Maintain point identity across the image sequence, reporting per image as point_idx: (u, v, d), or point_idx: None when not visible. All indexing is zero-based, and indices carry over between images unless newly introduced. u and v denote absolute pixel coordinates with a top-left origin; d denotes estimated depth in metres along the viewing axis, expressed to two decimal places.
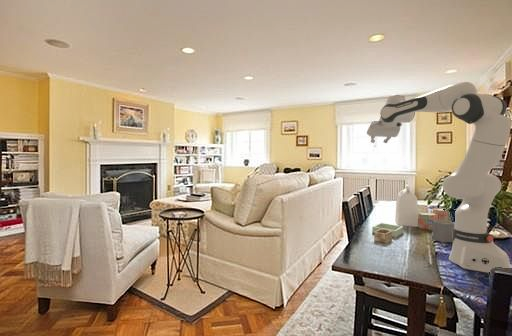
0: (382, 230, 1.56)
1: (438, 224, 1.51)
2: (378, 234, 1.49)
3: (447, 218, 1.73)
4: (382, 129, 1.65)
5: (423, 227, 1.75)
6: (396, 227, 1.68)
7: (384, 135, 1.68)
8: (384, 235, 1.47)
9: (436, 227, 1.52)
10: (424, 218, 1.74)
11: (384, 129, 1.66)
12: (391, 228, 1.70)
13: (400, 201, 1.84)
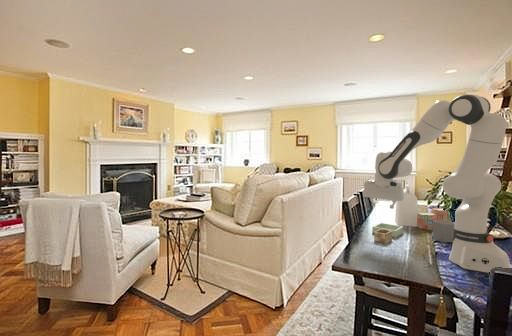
0: (382, 230, 1.56)
1: (438, 224, 1.51)
2: (378, 234, 1.49)
3: (446, 218, 1.73)
4: (377, 189, 1.52)
5: (423, 227, 1.75)
6: (396, 227, 1.68)
7: (382, 197, 1.50)
8: (384, 235, 1.47)
9: (436, 227, 1.52)
10: (424, 218, 1.74)
11: (380, 190, 1.51)
12: (391, 228, 1.70)
13: (400, 201, 1.84)
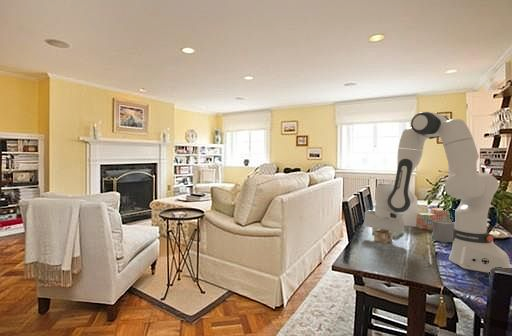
0: (382, 230, 1.56)
1: (438, 224, 1.51)
2: (378, 234, 1.49)
3: (445, 218, 1.74)
4: (377, 220, 1.52)
5: (422, 227, 1.74)
6: None
7: (383, 228, 1.50)
8: (384, 235, 1.47)
9: (436, 227, 1.52)
10: (423, 218, 1.74)
11: (380, 220, 1.51)
12: None
13: None
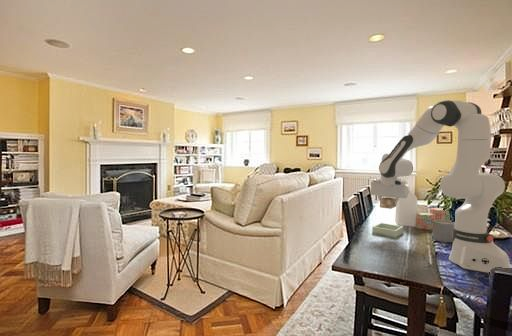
0: (387, 198, 1.69)
1: (438, 224, 1.51)
2: (384, 200, 1.62)
3: (444, 217, 1.74)
4: (383, 188, 1.65)
5: (422, 227, 1.74)
6: (396, 227, 1.68)
7: (388, 195, 1.63)
8: (389, 201, 1.60)
9: (436, 227, 1.52)
10: (423, 218, 1.74)
11: (385, 188, 1.64)
12: (391, 228, 1.70)
13: (400, 201, 1.84)
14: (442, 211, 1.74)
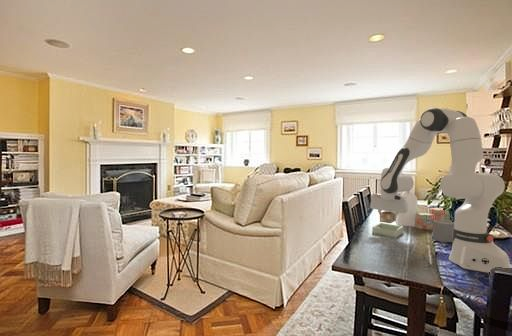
0: (387, 212, 1.70)
1: (438, 224, 1.51)
2: (383, 215, 1.63)
3: (443, 217, 1.75)
4: (383, 202, 1.66)
5: (422, 227, 1.74)
6: (396, 227, 1.68)
7: (387, 209, 1.64)
8: (389, 215, 1.61)
9: (436, 227, 1.52)
10: (423, 218, 1.74)
11: (385, 202, 1.65)
12: (391, 228, 1.70)
13: None
14: (441, 211, 1.75)
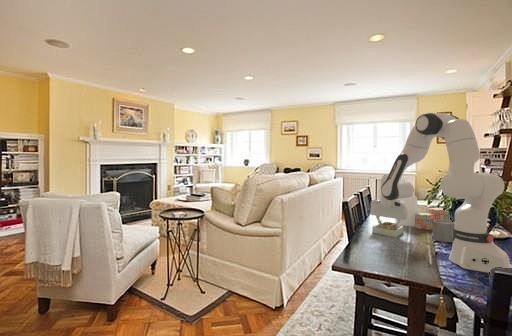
0: (387, 223, 1.70)
1: (438, 224, 1.51)
2: (383, 226, 1.63)
3: (443, 217, 1.75)
4: (383, 209, 1.66)
5: (422, 227, 1.74)
6: (396, 227, 1.68)
7: (387, 216, 1.64)
8: (389, 227, 1.61)
9: (436, 227, 1.52)
10: (423, 218, 1.73)
11: (385, 209, 1.65)
12: None
13: None
14: (441, 211, 1.75)
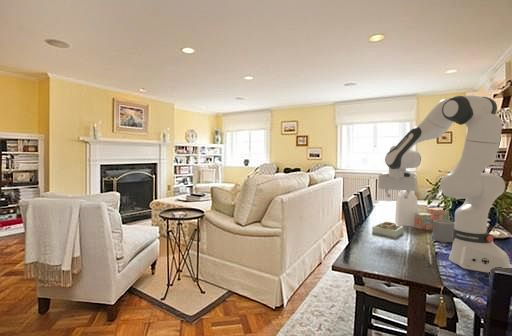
0: (387, 223, 1.70)
1: (438, 224, 1.51)
2: (383, 226, 1.63)
3: (442, 217, 1.76)
4: (391, 181, 1.62)
5: (422, 227, 1.74)
6: (396, 227, 1.68)
7: (397, 188, 1.59)
8: (389, 227, 1.61)
9: (436, 227, 1.52)
10: (423, 218, 1.73)
11: (394, 181, 1.61)
12: None
13: (400, 201, 1.84)
14: (440, 211, 1.75)
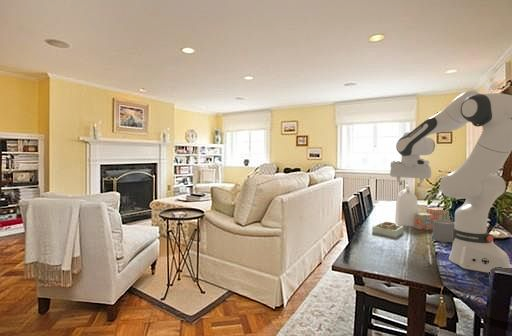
0: (387, 223, 1.70)
1: (438, 224, 1.51)
2: (383, 226, 1.63)
3: (441, 217, 1.76)
4: (404, 169, 1.57)
5: (422, 227, 1.74)
6: (396, 227, 1.68)
7: (409, 176, 1.55)
8: (389, 227, 1.61)
9: (436, 227, 1.52)
10: (423, 218, 1.73)
11: (407, 169, 1.56)
12: None
13: (400, 201, 1.84)
14: (439, 211, 1.76)
